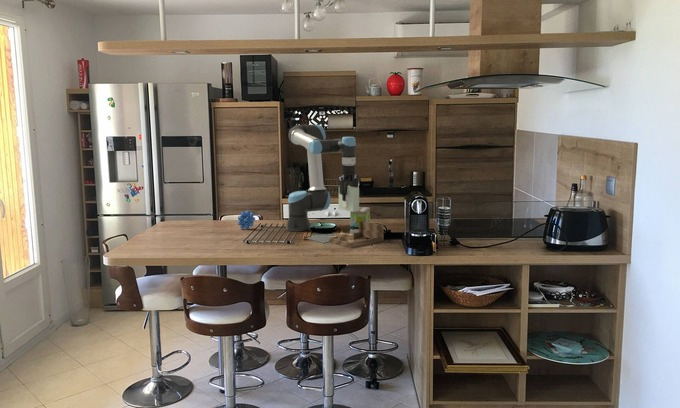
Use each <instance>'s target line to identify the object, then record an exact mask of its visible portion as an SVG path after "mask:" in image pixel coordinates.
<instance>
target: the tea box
mask: <svg viewBox="0 0 680 408" xmlns="http://www.w3.org/2000/svg"><path fill="white" fill-rule="evenodd" d="M349 212H350V216H349V217H350V218H349V221H350V222H349V223H350V224H349V234H352V233H357V232H359V221H366V222H371V207H369V206H368V207H366V206H359V211H355V212H351V211H349Z"/></svg>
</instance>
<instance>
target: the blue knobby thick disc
mask: <svg viewBox="0 0 680 408" xmlns="http://www.w3.org/2000/svg"><path fill="white" fill-rule="evenodd" d="M254 215H255V214H254V212H251V211H250V210H249V209H248V210H246V211H242V212H241V213H240V215H238V216H237V219H238V220H237V225H238V226H240V229H245V230H248V229H250V227H253V226H254V223H255V221H256V217H254Z"/></svg>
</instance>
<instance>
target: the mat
mask: <svg viewBox="0 0 680 408" xmlns="http://www.w3.org/2000/svg"><path fill="white" fill-rule="evenodd" d="M332 237H333V236H328V235H325V234H320V235H314V236H310V237H306V238H305V239H306V240H310V241H314V242H317V243H321V244H327V243H330V242H329V238H332Z"/></svg>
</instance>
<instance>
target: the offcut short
mask: <svg viewBox="0 0 680 408" xmlns="http://www.w3.org/2000/svg"><path fill="white" fill-rule="evenodd" d="M337 235H338V239H341V240H350V241H351V240H355V238H354V234H350V233H346V232H339V233H338V234H337Z"/></svg>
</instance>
